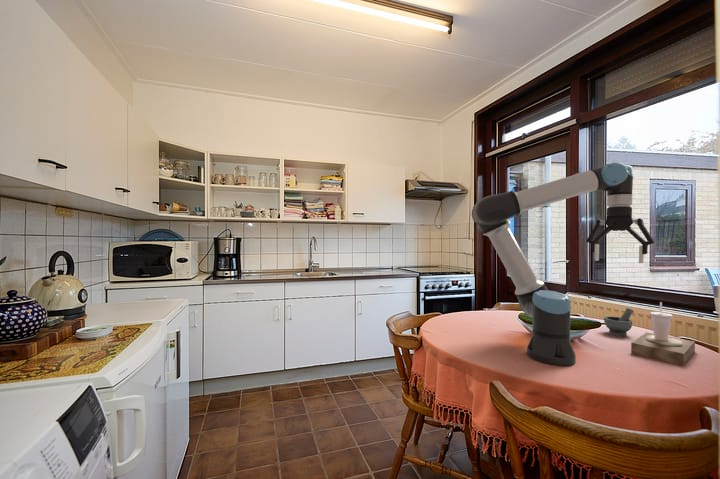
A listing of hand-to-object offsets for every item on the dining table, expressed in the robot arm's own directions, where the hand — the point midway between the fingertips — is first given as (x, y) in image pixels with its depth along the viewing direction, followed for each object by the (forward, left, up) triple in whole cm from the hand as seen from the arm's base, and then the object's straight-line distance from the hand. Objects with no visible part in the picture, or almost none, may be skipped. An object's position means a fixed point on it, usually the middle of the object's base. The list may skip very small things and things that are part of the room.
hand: (617, 261), depth 121 cm
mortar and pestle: (-6, +28, -35) cm, 45 cm away
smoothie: (+10, +13, -30) cm, 34 cm away
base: (+11, +13, -34) cm, 38 cm away
